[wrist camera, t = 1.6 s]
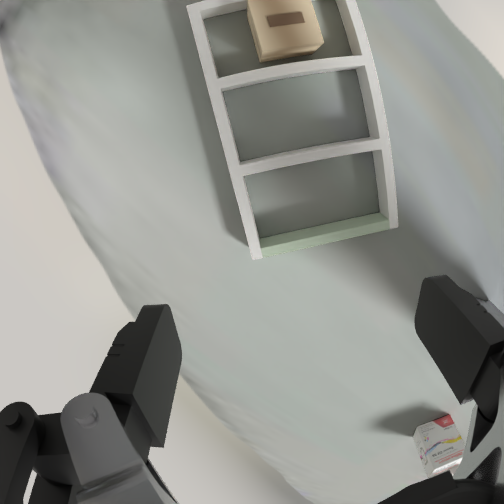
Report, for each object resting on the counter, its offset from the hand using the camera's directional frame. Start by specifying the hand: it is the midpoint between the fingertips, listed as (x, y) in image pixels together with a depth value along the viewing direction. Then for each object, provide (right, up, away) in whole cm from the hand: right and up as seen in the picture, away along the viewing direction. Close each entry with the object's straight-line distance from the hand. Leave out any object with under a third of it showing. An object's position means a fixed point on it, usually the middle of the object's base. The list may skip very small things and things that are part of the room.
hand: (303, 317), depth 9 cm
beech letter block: (+1, +22, +14) cm, 26 cm away
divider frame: (+3, +15, +17) cm, 23 cm away
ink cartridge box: (+36, -35, +40) cm, 64 cm away
